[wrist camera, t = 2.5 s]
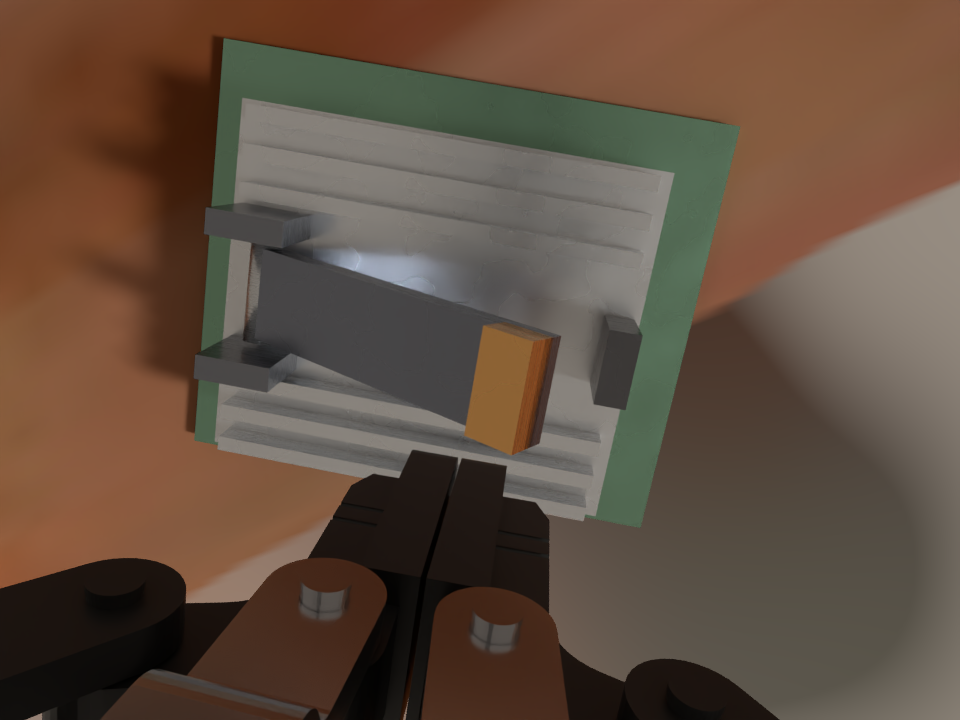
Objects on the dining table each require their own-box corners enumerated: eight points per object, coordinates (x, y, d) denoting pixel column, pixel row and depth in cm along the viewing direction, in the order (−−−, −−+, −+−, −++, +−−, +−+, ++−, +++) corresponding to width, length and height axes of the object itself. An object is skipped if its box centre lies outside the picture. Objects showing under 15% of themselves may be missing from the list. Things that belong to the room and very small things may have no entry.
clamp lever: (260, 334, 26) (223, 339, 25) (269, 237, 26) (231, 237, 24) (539, 449, 20) (510, 462, 19) (564, 328, 20) (535, 333, 18)
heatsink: (230, 40, 29) (123, 0, 21) (736, 127, 28) (800, 115, 21) (200, 435, 33) (102, 511, 26) (638, 521, 32) (663, 624, 25)
